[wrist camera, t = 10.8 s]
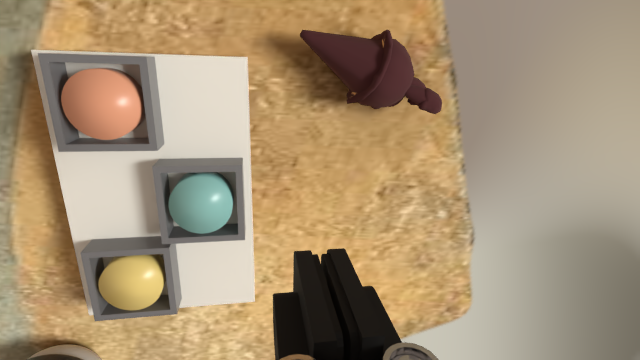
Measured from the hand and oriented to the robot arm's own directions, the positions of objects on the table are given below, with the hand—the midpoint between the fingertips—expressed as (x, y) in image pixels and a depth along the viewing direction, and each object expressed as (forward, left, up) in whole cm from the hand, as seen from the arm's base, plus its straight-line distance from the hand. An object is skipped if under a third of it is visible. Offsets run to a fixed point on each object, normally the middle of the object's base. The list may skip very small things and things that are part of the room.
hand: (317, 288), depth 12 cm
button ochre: (+14, -14, -24) cm, 31 cm away
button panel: (+6, -11, -27) cm, 30 cm away
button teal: (+6, -7, -24) cm, 26 cm away
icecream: (-6, +9, -27) cm, 30 cm away
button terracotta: (-3, -14, -24) cm, 28 cm away
